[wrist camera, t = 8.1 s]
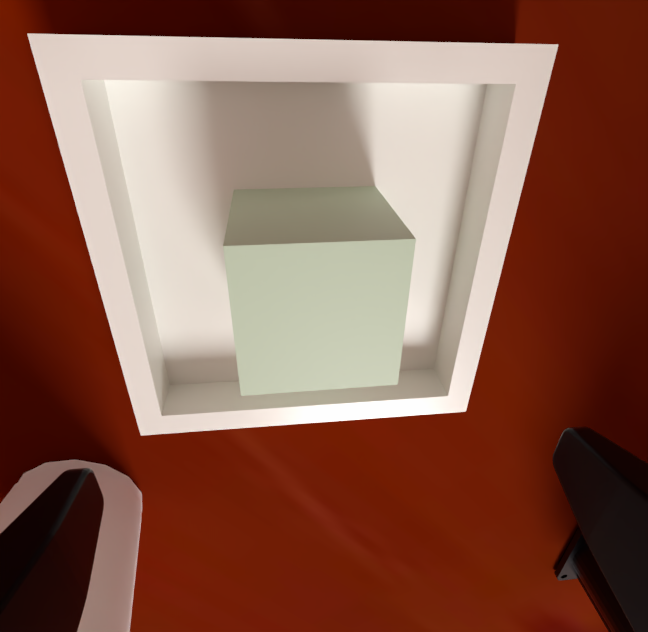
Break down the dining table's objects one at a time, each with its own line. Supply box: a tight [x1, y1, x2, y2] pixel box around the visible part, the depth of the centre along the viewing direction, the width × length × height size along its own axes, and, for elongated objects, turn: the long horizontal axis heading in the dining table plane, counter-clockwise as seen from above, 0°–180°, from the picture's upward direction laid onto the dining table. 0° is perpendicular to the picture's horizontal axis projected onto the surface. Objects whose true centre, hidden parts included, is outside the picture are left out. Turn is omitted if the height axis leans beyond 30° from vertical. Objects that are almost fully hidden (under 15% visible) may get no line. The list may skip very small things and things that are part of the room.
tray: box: [27, 34, 558, 435], centre depth 16 cm, size 14×14×2 cm
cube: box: [223, 186, 416, 396], centre depth 15 cm, size 5×5×5 cm
